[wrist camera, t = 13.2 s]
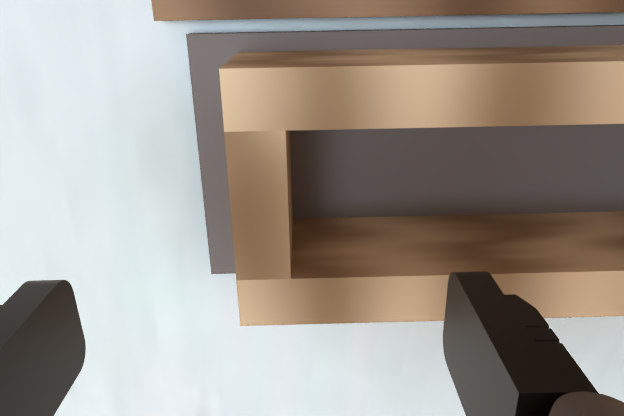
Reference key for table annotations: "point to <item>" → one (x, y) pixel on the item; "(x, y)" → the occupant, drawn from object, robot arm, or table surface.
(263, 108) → the open wooden box
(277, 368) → the table surface
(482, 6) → the walnut post stand
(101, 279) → the table surface
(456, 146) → the grey rubber mat
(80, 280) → the table surface
